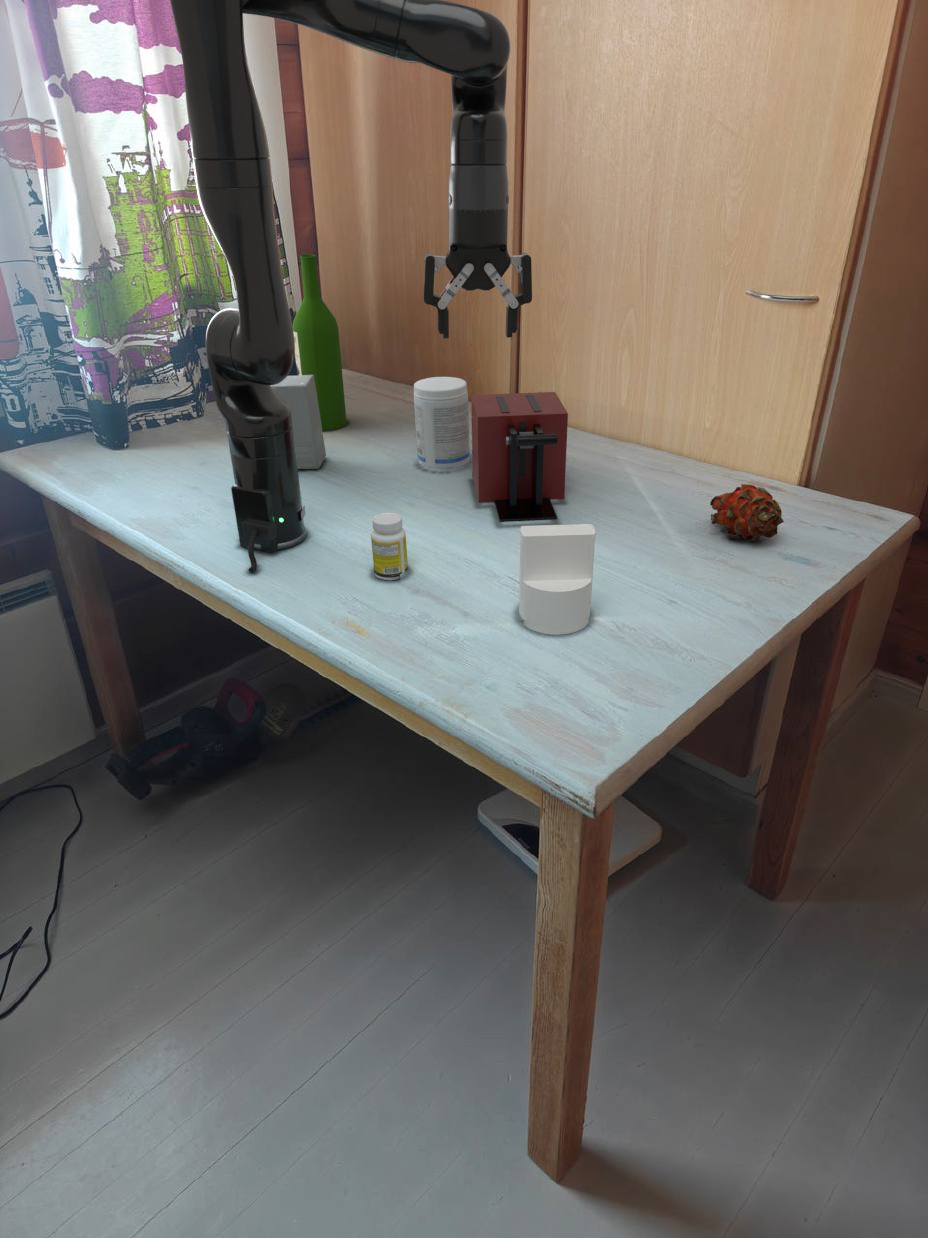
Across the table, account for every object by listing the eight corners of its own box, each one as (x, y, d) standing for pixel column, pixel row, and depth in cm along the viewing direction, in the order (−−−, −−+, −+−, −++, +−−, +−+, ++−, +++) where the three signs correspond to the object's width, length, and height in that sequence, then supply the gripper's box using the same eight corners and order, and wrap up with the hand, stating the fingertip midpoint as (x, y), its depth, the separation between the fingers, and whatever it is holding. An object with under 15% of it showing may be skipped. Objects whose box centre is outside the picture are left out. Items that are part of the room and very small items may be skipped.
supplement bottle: (390, 562, 125) (387, 508, 121) (415, 571, 123) (412, 516, 119) (366, 574, 122) (362, 519, 118) (391, 584, 120) (387, 528, 115)
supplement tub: (477, 458, 162) (477, 378, 155) (457, 475, 155) (455, 392, 147) (430, 452, 165) (427, 373, 158) (408, 468, 158) (403, 387, 151)
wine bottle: (300, 420, 184) (280, 253, 167) (342, 415, 186) (327, 250, 169) (306, 433, 176) (287, 260, 160) (350, 428, 179) (335, 257, 162)
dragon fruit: (774, 562, 127) (708, 545, 136) (805, 517, 128) (738, 503, 138) (754, 525, 122) (686, 510, 131) (786, 479, 123) (717, 467, 132)
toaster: (564, 503, 143) (568, 412, 135) (478, 507, 142) (477, 416, 134) (552, 476, 153) (555, 391, 146) (472, 480, 152) (471, 394, 145)
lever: (558, 448, 122) (557, 430, 121) (518, 449, 122) (517, 431, 121) (542, 447, 136) (541, 431, 135) (506, 448, 135) (505, 432, 135)
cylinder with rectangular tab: (584, 598, 115) (589, 514, 109) (595, 633, 108) (601, 545, 102) (515, 600, 115) (517, 516, 109) (522, 635, 107) (523, 547, 101)
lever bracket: (557, 524, 136) (560, 438, 129) (499, 526, 135) (499, 440, 128) (547, 499, 145) (549, 417, 138) (492, 501, 144) (492, 419, 137)
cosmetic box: (326, 458, 163) (318, 373, 155) (317, 472, 157) (307, 384, 149) (282, 457, 164) (271, 372, 156) (271, 471, 158) (259, 383, 150)
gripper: (530, 202, 114) (526, 330, 122) (421, 202, 114) (424, 331, 121) (538, 206, 108) (533, 342, 116) (422, 207, 107) (425, 343, 115)
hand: (477, 336), depth 119 cm, fingers open, 8 cm apart
